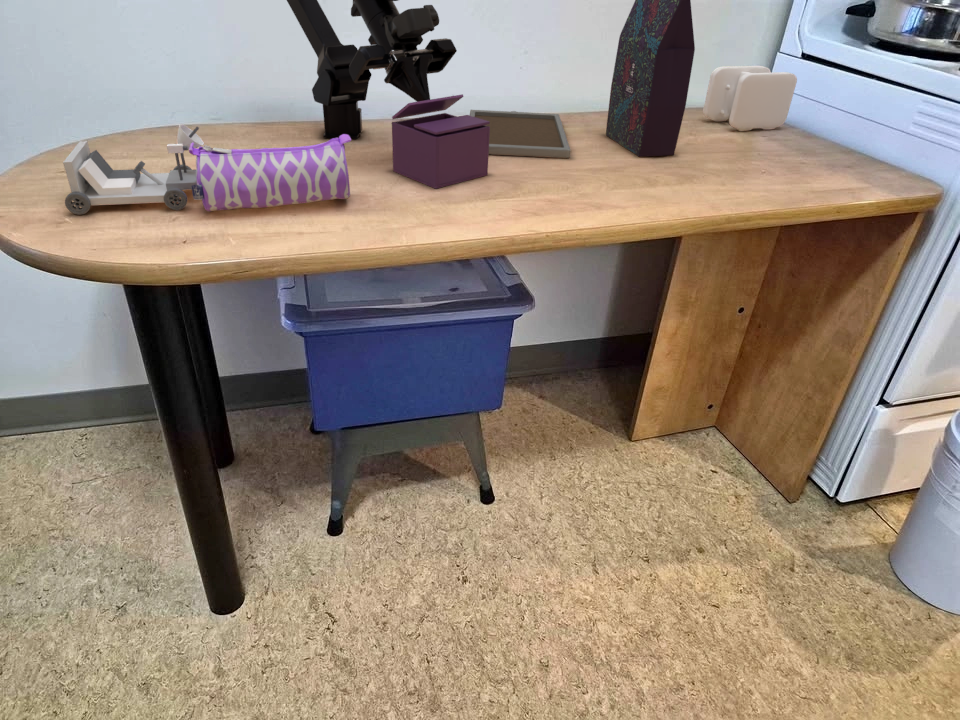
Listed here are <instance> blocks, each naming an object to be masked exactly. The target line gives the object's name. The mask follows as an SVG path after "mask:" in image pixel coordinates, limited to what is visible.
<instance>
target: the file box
mask: <svg viewBox="0 0 960 720" xmlns="http://www.w3.org/2000/svg"><path fill="white" fill-rule="evenodd" d="M487 124H490V122H489V121H486V120H483V119H479V118H476V117H473V116H470V114H463V115H458V116H457V115H453V114H450V113H447V112H443V113H436V114H431V115H426V116H421V117H420V116H419V117H414V118H407V119H404V120H398V121H393V122H391V141H392V146H391V147H392V171H393V172H394V173H396V174H398V175H401V176H404V177H406V178H408V179H411V180H413V181H415V182H419V183H421V184H423V185H425V186H428V187H430V188H433V189H435V190H437V189H440V188H444V187H447V186H452V185H456V184H460V183H464V182H467V181H471V180H475V179H478V178H482V177H486V176H488V175H489V174H488V171H489V155H490V154H489V135H490V127H489V126H486V125H487Z"/></svg>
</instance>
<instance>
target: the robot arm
mask: <svg viewBox="0 0 960 720" xmlns="http://www.w3.org/2000/svg"><path fill="white" fill-rule="evenodd" d="M286 1H287V3H288V5H289V7H290V9H291V11H292V13H293V15H294V17H295V19H296V20H297V23H299V26H300V28H301V30H302V32H303V33H304V35H305V37H306V39H307V40H308V42H309V44H310V46H311V48H312V49H313V51H314V53H315V55H316V57H317V67H316V74H317V76H318V77H317V79H316V81H315V83H314V85H313V86H312V88H311V93H312V96H313V100H314V102H316V103H318V104H321V105H322V113H323V114H322V115H323V127H324V133H323V135H322V137H323V138H324V139H333V138H339V136H340V135H342V134H347V135H349V136H350V138H351V140H352V139H353V140H357V139H359V137H360V135H361V134H362V132H363V119H362V118H363V116H362V114H363V113H362V108H361V107H359V102H361V101H362V102H365V101H366V100H367V96H368V95H367V94H368V89H369V84H370V80H371V78H372V75H373V74H372V72H371V70H380V69H381V70H382V69H384V70H385V74H386V76H385V78H384V79H383V81H384V83H385V84H390V85H391V86H393V87H395V88H396V89H398V90H399V91H401V92H403V93H405V94H406V95H407V96H408V97H409V98H411V99H412V100H414V102H418V101H425V100H431V94H430V87H429V81H428V75H429V74H437V73H440V72H442V71H444V69H445V68H446V66H447V65H448V64H449V62H450V61H451V60H452V58H453V57H454V55H455V54H456V53H457V48H456V45H455V44H454V41H453V40H452V39H451V38H445V37H444V38H437V39H436V38H435V39H430V40H429V42H428V43H427V45H426V46H425V48H422V49H418V46H420V45H421V44H422V43H423V41H424V38H423V37H422V36H425V34H427V33H429V32H433V31H434V30H435V27H438V26H439V24H440V17H439V14H438V12H437V10H436V8H435V7H434V5H433V4H424V5H423V7H417V8H416V7H415V8H408V9H405V10H403V11H402V12H399V10H398V8H397V6H396V4H395V2H399V0H352V5H351V8H350V16H351V17H352V18H353V17H355V18H356V17H361V18H362V20H363V22H364V24H365V26H366V28H367V30H368V31H369V34H370V35H369V37H368V39H367V41H368V43H369V45H360V46H359V48H357V47H356V45H355V44H343V43H341V40H340V39H339V37H338V35H337V34H336V32H335V30H334V28H333V26H332V24H331V23H330V21H329V19H328V18H327V15H326V14H325V12H324V10H323V8H322V6H321V4H320V3H319V1H318V0H286Z"/></svg>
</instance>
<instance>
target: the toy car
mask: <svg viewBox="0 0 960 720" xmlns="http://www.w3.org/2000/svg"><path fill="white" fill-rule="evenodd" d="M199 130H200V127H199V126H196V127H195V128H194V129H191V128H189V126H187V125H184V124H182V123H179V125H178V129H177V135H176V136H177V137H176V143H167V145H166V149H167V154H174V155H175V161H176V166H175V167H174V168H173V169H171V170H170V171H169V172H154V173H151V172H149V171H148V170H147V169H145V168H144V167H145V165H146V162H144V161H143V160H140V161H139V163H137V165H136V166H135V167H134V168H133V169H131V168H130V169H113V168H112V167H111V165H110V164H109V163H108V162H107V161H106V159H105V158H104V157H103V156H102V154H100V152H99V151H98V150H97V149H95V150H93V151H91V150H90V145H89V143H88V140H79V141H78V143H76V145H75V146H74V147H73V149H72V150H71V151H70V153H69V154H68V156H66V158H65V159H64V160H63V161H62V164H63V167H64V171H65V174H66V178H67V181H68V185H69V189H70V191H71V192H70V193H68V194H67V196H66V197H65V198H64V206H65V207H66V209H67V210H68V211H69V212H70V213H72V214H74V215H85V214H87V213H88V212H89V211H90V210H91V207H92V206H109V205H110V206H111V205H132V204H150V203H151V204H156V203H158V204H159V203H164V204H165V206H166V207H167V208H169V209H170V210H172V211H181V210H183V209H185V207H186V206H187V204H188V196H187V194H186V193H185V191H186V190H191V191H192V185H197V179H196V168H195V169H193V168H191V167H190V166H189V165H187V164H186V161H185V155H184V153H185V151H189V148H190V144H191V143H192V142H193V143H194V146H193V147H194V148H196V149H198V148H199V147H200V146H202V147H203V146H205V142H204V140H202V138H201V136H200V135H198V134H197V133H198V131H199ZM179 154H180V156H179ZM180 159H181V161H180ZM195 188H197V186H196V187H195Z"/></svg>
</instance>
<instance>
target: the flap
mask: <svg viewBox="0 0 960 720" xmlns="http://www.w3.org/2000/svg"><path fill="white" fill-rule="evenodd" d="M462 98H464V94H456V95H450V96H444V97H438V98H432V99H431V98H430V100H425V101H418V102H417V101H412V102H409V103H407V104H405V105H404V106H403V107H402V108H401V109H399V110H398V111H397V112H396V113H395V114H394V115H392V116H391V119H392V120H398V119H402V118H409V117H414V116H419V115H425V114H431V113H437V112H443V111H447V110H448V109H449V108H451V107H452V106H454V105H455V104H456V103H457V102H458V101H460V100H461V99H462Z"/></svg>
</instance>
